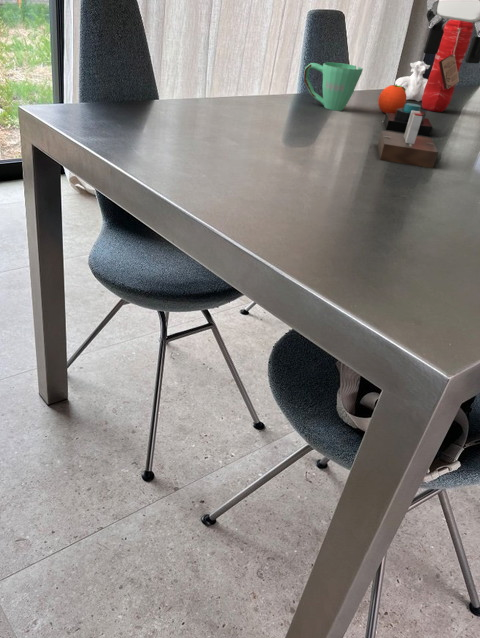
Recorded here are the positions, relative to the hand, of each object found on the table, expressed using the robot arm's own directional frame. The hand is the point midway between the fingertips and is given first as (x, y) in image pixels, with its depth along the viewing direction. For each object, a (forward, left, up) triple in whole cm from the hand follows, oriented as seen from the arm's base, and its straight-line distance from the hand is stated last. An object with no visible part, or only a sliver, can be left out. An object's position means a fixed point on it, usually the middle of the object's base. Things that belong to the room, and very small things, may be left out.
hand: (450, 58), depth 104 cm
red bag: (-9, -58, -18) cm, 62 cm away
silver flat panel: (+3, +2, -15) cm, 15 cm away
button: (+1, -26, -14) cm, 30 cm away
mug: (+21, -39, -18) cm, 48 cm away
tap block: (+3, +2, -18) cm, 18 cm away
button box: (+1, -26, -18) cm, 32 cm away
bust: (-4, -74, -18) cm, 76 cm away
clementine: (+4, -43, -18) cm, 47 cm away
